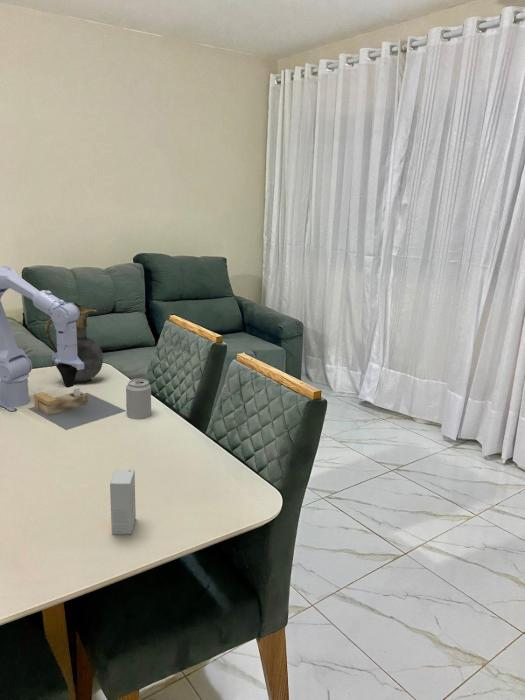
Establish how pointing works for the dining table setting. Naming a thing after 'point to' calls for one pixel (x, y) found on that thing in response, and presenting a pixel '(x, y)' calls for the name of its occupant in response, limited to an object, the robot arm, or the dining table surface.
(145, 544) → the dining table surface
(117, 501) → the skincare box
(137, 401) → the can
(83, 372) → the pitcher
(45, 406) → the oak link
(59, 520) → the dining table surface
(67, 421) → the slate board
